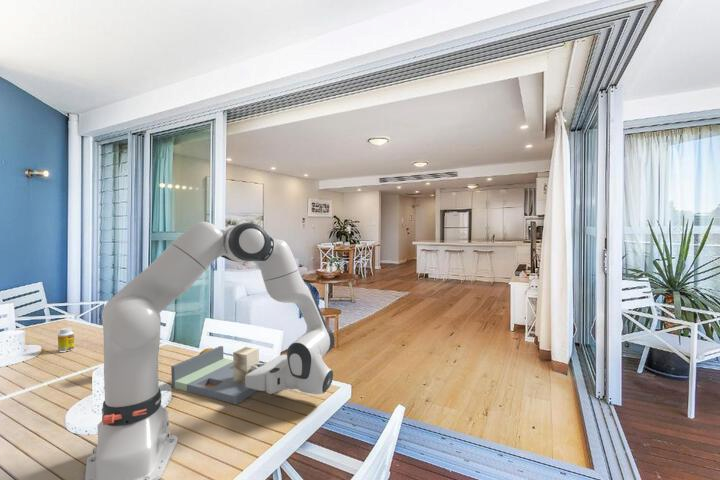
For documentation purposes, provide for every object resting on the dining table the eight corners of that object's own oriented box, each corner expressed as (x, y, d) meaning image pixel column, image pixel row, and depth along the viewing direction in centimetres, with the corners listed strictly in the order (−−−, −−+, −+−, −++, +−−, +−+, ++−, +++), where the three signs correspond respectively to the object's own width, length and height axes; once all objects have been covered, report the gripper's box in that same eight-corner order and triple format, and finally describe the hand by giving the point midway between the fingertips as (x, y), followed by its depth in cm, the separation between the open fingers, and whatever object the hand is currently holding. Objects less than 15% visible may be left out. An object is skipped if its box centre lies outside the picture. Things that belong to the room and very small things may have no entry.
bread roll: (197, 364, 138) (197, 354, 138) (199, 356, 146) (199, 347, 146) (219, 361, 141) (218, 352, 141) (219, 354, 149) (219, 345, 149)
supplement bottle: (69, 352, 152) (68, 329, 152) (55, 353, 151) (54, 330, 151) (77, 348, 158) (76, 326, 157) (63, 349, 156) (62, 327, 156)
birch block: (259, 376, 120) (258, 349, 119) (247, 384, 114) (246, 355, 114) (245, 374, 122) (245, 346, 122) (233, 381, 116) (233, 352, 116)
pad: (234, 366, 134) (234, 360, 134) (187, 391, 114) (186, 384, 114) (223, 364, 137) (223, 358, 137) (174, 388, 117) (174, 381, 117)
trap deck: (279, 376, 126) (279, 356, 125) (236, 404, 106) (236, 381, 105) (220, 364, 137) (220, 345, 137) (171, 387, 117) (171, 366, 117)
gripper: (304, 353, 120) (272, 347, 126) (266, 376, 101) (232, 368, 107) (304, 370, 120) (273, 364, 126) (267, 396, 102) (232, 388, 107)
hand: (253, 366), depth 116 cm, fingers closed
